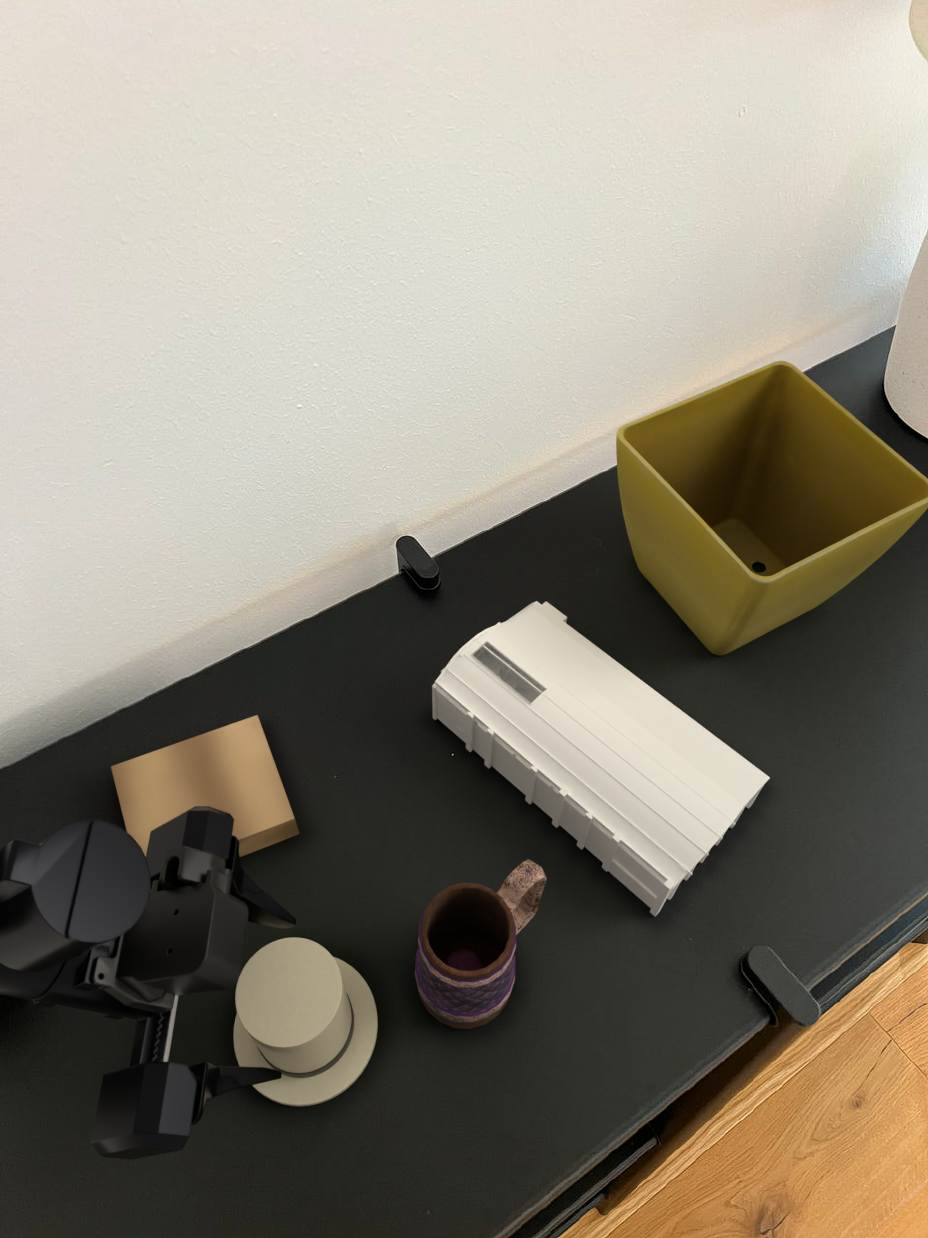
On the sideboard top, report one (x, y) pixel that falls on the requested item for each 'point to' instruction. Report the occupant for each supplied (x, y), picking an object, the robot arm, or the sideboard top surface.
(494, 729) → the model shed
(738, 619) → the flower pot
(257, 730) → the wooden block
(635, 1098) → the sideboard top surface
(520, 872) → the mug
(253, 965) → the hat
